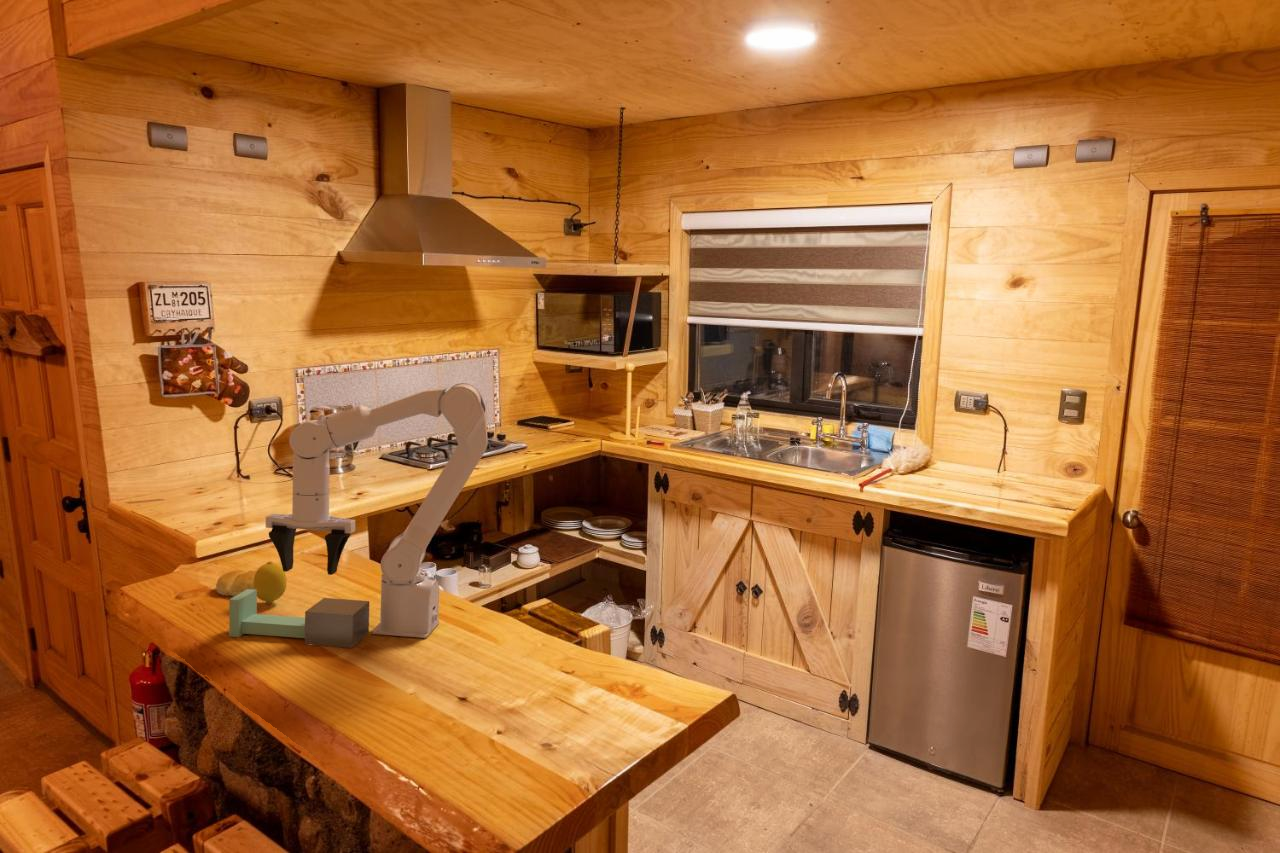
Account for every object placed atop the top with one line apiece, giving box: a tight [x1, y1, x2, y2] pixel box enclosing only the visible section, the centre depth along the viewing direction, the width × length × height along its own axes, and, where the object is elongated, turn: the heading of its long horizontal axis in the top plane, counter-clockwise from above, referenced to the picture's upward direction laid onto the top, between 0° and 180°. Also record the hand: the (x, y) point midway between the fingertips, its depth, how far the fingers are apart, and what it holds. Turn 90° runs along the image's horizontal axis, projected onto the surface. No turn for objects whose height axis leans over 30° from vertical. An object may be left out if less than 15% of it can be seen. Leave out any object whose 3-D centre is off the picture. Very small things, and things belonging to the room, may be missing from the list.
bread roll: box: [215, 569, 257, 598], centre depth 155 cm, size 8×9×4 cm
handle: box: [228, 589, 305, 639], centre depth 135 cm, size 14×6×6 cm, turn 87°
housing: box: [304, 597, 370, 649], centre depth 134 cm, size 8×7×6 cm
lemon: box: [253, 560, 287, 605], centre depth 148 cm, size 6×6×8 cm
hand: (310, 571), depth 137 cm, fingers open, 7 cm apart
